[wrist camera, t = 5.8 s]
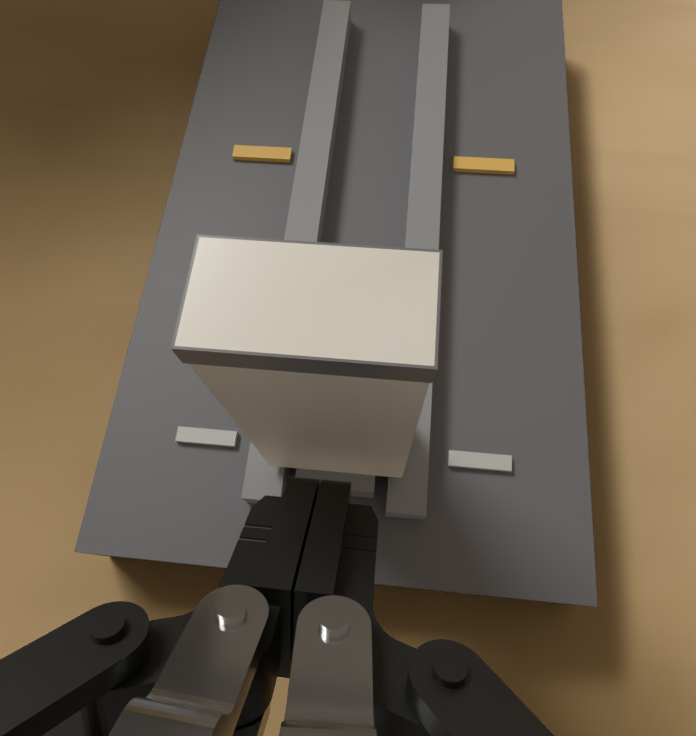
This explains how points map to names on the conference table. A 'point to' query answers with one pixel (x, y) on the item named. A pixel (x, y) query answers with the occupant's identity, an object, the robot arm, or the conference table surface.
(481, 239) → the grey slider track board
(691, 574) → the conference table surface
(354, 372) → the fader
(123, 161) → the conference table surface
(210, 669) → the robot arm
